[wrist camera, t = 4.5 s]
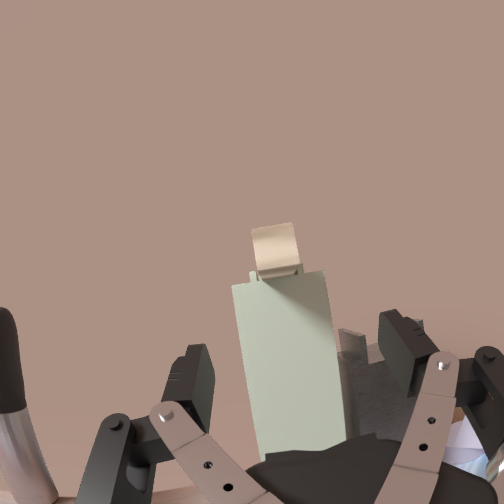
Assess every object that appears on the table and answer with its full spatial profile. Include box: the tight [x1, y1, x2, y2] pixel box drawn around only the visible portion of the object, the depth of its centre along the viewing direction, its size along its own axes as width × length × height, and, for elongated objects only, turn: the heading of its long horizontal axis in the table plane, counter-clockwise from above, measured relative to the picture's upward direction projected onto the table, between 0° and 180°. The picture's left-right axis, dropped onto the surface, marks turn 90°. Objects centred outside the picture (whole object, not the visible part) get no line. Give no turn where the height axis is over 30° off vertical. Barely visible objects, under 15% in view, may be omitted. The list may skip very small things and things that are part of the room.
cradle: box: [337, 319, 424, 442], centre depth 29 cm, size 10×9×25 cm
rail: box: [251, 223, 300, 280], centre depth 32 cm, size 22×3×3 cm, turn 175°
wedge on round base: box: [442, 415, 485, 464], centre depth 29 cm, size 9×7×13 cm
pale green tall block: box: [232, 264, 346, 462], centre depth 33 cm, size 15×9×34 cm, turn 175°
